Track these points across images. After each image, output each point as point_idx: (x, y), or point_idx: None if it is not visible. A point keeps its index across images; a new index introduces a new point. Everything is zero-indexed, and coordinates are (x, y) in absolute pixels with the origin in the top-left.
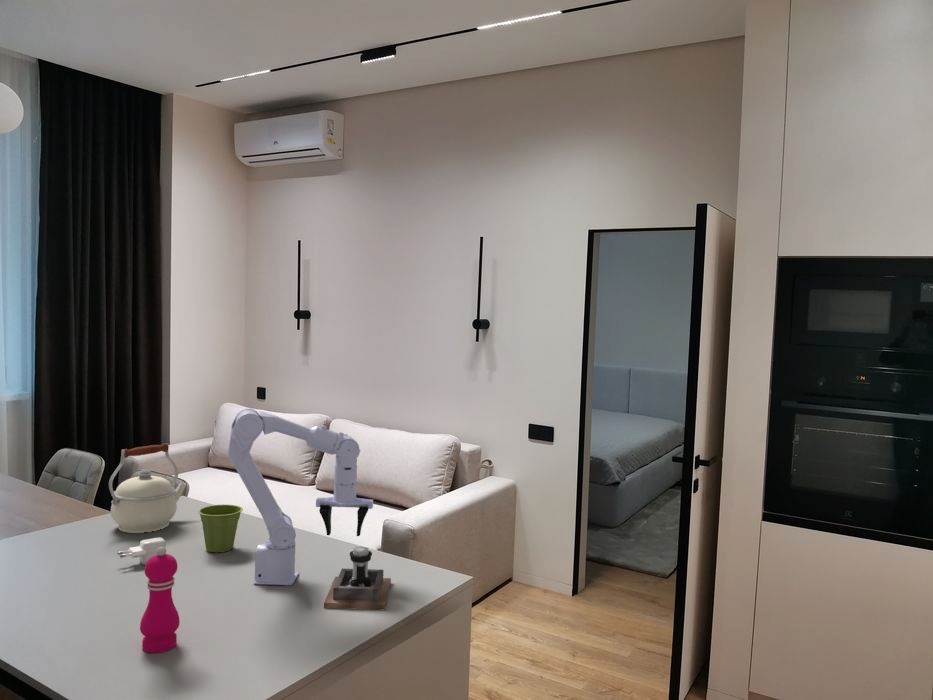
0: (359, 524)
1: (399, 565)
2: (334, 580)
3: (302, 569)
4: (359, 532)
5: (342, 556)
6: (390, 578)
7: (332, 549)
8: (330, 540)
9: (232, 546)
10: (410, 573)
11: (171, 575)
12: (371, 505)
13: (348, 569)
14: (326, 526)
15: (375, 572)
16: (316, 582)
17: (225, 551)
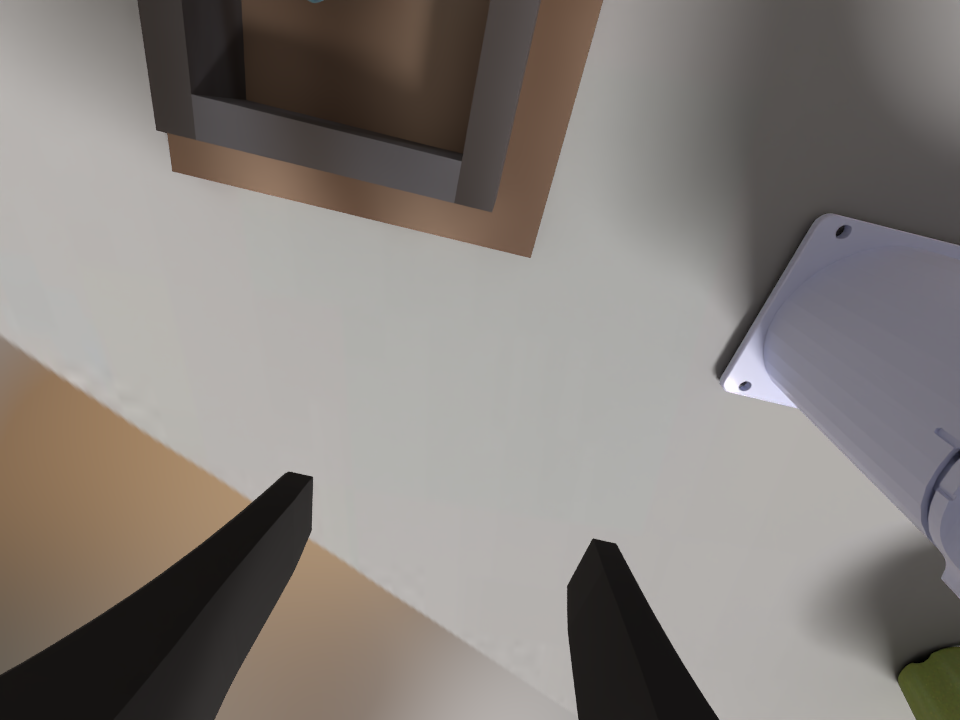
0: (187, 584)
1: (197, 406)
2: (544, 187)
3: (677, 436)
4: (259, 498)
5: (467, 534)
6: (173, 165)
7: (503, 597)
8: (503, 659)
9: (921, 672)
10: (116, 299)
11: None
12: None
13: (440, 181)
14: (659, 638)
15: (220, 100)
16: (645, 249)
17: (954, 647)
